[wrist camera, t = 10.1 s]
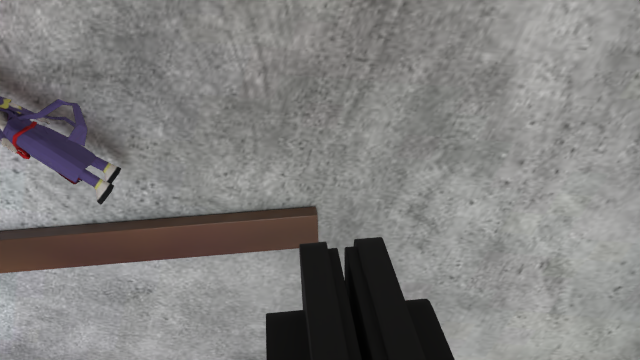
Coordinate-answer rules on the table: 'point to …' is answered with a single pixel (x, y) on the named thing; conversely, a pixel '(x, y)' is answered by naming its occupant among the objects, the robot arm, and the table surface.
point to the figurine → (55, 144)
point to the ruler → (156, 239)
